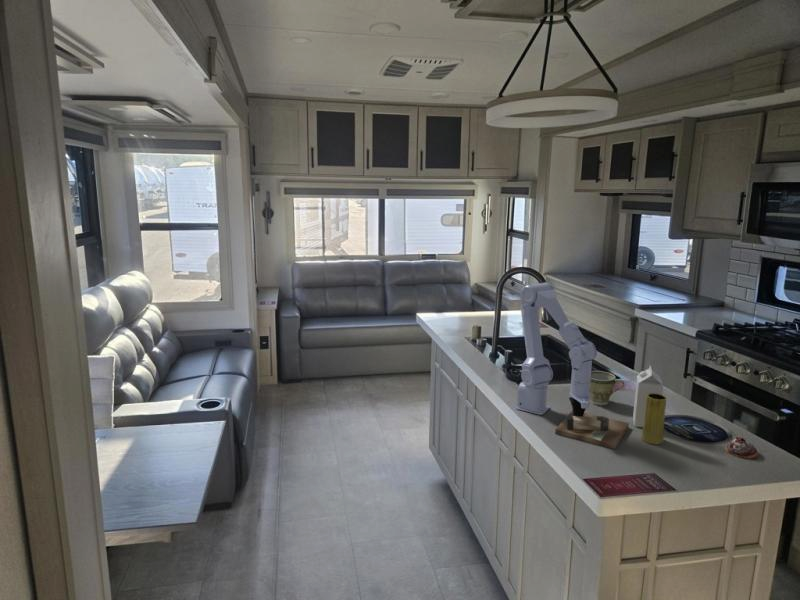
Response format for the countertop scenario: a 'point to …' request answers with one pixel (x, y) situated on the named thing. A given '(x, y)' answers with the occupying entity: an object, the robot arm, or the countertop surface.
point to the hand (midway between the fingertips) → (577, 420)
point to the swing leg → (587, 423)
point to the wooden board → (596, 432)
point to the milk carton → (645, 393)
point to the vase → (654, 419)
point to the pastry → (741, 449)
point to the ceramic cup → (602, 387)
